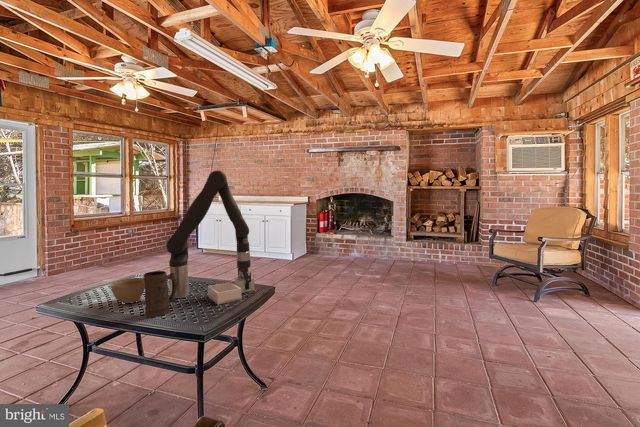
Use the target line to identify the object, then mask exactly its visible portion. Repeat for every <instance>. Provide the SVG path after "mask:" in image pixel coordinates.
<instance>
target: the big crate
mask: <svg viewBox="0 0 640 427" xmlns="http://www.w3.org/2000/svg"><path fill="white" fill-rule="evenodd" d="M207 297H208V299H210V300H211V301H213V302H214V303H215V304H217V305H218V306H219V305H223V304H228V303H234V302H236V301H237V302H238V301H241V300H242V299H243V297H242V293H241V288H240V287H238V286H236V285H235V283H233V282H232V281H229V282H224V283H223V282H222V283H218V284H217V283H216V284H213V285H212V284H211V285H208V286H207Z"/></svg>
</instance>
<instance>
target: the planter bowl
mask: <svg viewBox="0 0 640 427" xmlns="http://www.w3.org/2000/svg"><path fill="white" fill-rule="evenodd" d="M110 288H111V291H112V295H113V296H114V297H115V299H116V300H117V301H118V302H119V301H120V302H123V303H131V302H136V301H138V302H140V301H139V300H141V297H142V296H143V294H144V293H145V281H144V277H131V278H130V277H129V278H124V279H119V280H116V281H113V282H112V283H111V284H110ZM120 302H119V303H120ZM136 303H137V302H136Z"/></svg>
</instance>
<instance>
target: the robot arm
mask: <svg viewBox="0 0 640 427" xmlns="http://www.w3.org/2000/svg"><path fill="white" fill-rule="evenodd" d="M217 194H219V197H220V198H221V201H222V204H223V208H224V210H225V212H226V215H227V216H228V219H229V220H230V222H231V223H232V225H233V228H234V229H235V240H236V268H237V278H242V277H243V279H244V280H245V289H246V290H248V289H249V283H250V282H251V277H252V272H251V271H249V268H251V267H252V266H251V252H250V251H251V250H250V242H249V234H250V228H249V226H248V224H247V222H246V220H245V219H244V217H243V214H242V212H241V210H240V208H239V206H238V204H237V202H236V200H235V198H234V196H233V194H232V192H231V190H230V187H229V182H228V180H227V175H226V174H225V172H224V171H221V170H213V171H212V172H210V173H209V175H208V177H207V179H206V181H205V183H204V185H203V187H202V189H201V191H200V192H199V193H198V195H197V196H196V197H195V199H194V200H193V201H192V203H191V204H190V206H189V207H188V209H187V210H186V213H184V216H183V218H182V219H181V222H180V223H179V225H178V227H177V228H176V230H175V231H174V232H173V234H172V235H171V237H169V239H168V240H167V241H166V246H165V247H166V250H167V252H168V253H169V254H170V258H169V261H168V262H169V274H170V273H174V275H175V279H176V281H177V289H176V293H175V296H174V297H175V299H180V298H181V299H182V298H186V297H188V296H190V286H189V285H190V284H189V283H190V280H189V267H188V260H189V243H188V239H189V238H190V236H191V235H192V233H193V232H194V231H195V230H196V229H197V227H199V225H200V224H201V223H202V221H203V220H204V219H205V217H206V215H207V213H208V212H209V209H210V208H211V205H212V203H213V200H214V199H215V197H216V196H217ZM245 277H246V278H245ZM169 292H170V296H171V293H172V280H171V279H169ZM170 296H169V297H170Z"/></svg>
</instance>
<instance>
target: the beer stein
mask: <svg viewBox="0 0 640 427" xmlns="http://www.w3.org/2000/svg"><path fill="white" fill-rule="evenodd" d="M143 278H144V281H145V289H144V300H145V303H144V305H145V308H144V310H145V311H144V312H145V314H144V315H145V316H146V317H148V316H149V318H157V317H156V316H158V317H162V316H165V315H167V314H169V313H170V312H171V310H170V307H169V306H170V303H176V299H177V298H175V297H174V296H175V293H176V289H177V281H176V279H175V275H174V273H170V272H169V274H167V272H166V271H164V270H156V271H149V272H146V273H144V274H143ZM170 279H171V280H172V293H171V296H169V286H168V285H169V284H168V281H169V280H170Z"/></svg>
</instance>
